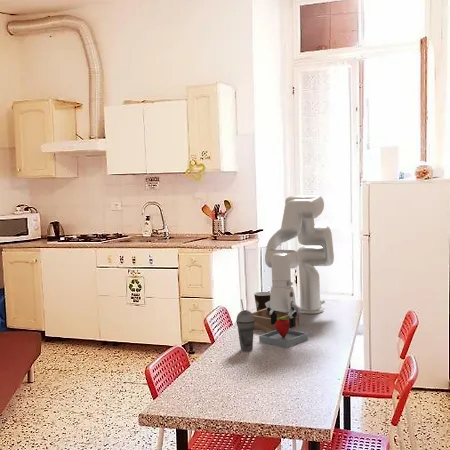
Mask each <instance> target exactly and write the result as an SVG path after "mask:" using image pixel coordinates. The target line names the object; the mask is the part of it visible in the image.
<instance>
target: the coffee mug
mask: <svg viewBox="0 0 450 450" xmlns="http://www.w3.org/2000/svg"><path fill="white" fill-rule="evenodd" d="M270 293H271V291H270V292H269V291H257V292H254V294H253V295H254V296H253V297H254V302H255V308H256V311H259V310H263V309H266V308H267V307H266V305H265V303H266V302H268V301H270Z"/></svg>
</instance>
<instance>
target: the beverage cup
mask: <svg viewBox="0 0 450 450" xmlns="http://www.w3.org/2000/svg"><path fill="white" fill-rule="evenodd" d="M240 302H241V309H242V310H241V311H240V312H238V314H237V315H236V320H235V322H236V326H237V327H236V328H237V331H238V339H239V346H240V351H241V352H246V353H247V352H252V351H253V349H254V348H253V346H254V321H255V320H254V316H253V314H252V313H253V312H252V311H249V310H247V309H246V310H245V309H244V302H243V299H242V298H241V299H240Z"/></svg>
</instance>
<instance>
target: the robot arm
mask: <svg viewBox="0 0 450 450" xmlns="http://www.w3.org/2000/svg"><path fill="white" fill-rule="evenodd" d="M284 201H285V205H284V209H283V215H282V220H281V225H280V229H278V230H277V231H276V232H275V233H274V234H272V236H271V237H270V238H269V239H268V242H267V244H266V249H265V255H264V262H265V265H266V266H267V267H268V268H271V284H272V286H271V289H270V292H271V293H270V301H268V302H266V303H265V305H266V307H267V310H268V311H269V314H270V315H271V324H272V325H273V324H275V323H276V321H277V314H276V311H278V312H284V313H288V315H289V316H290V318H289V327H290V328H291V329H293V327H294V328H295V326H296V320H295V317H297V315H298V314H299V315H300V314H305V315H306V314H307V315H308V314H309V315H311V314H312V315H313V314H319V313H323V312H324V311H325V310H324V307H322V305H325V304H326V301H325V300H324V299H321V291H320V290H321V289H320V288H321V286H320V272H318V270H317V269H316V267H329V266H332V265H333V264H334V261H335V260H334V259H335V255H334V254H335V253H334V245H333V243H334V242H333V234H332V231H331V228H330V226H328V225H325V224H324V225H323V224H321V225H320V224H315V219H316V218H318V217H319V216H320V215H321V214H322V213H323V212H324V209H325V202H324V198H323V197H322V196H321V195H316V194H315V195H314V194H313V195H289V196H287V197H286V198H285V200H284ZM295 238H297V240H298V243H299V244H300V245H302V246H301V247H299V248H298V249H297V250H295V249H277V247H279V246H280V245H281V244H283V243H286V242H287V241H290V240H292V239H295ZM297 267H298V272H299V273H298V275H299V298H300V299H299V303H300V304H299V305H300V306H299V305H297V304H296V296H295V295H296V294H295V291H294V288H293V284H294V283H293V282H292V277H291V275H292V273H291V269H295V268H297ZM294 311H295V312H294ZM296 327H297V326H296Z"/></svg>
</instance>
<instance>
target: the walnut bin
mask: <svg viewBox="0 0 450 450" xmlns="http://www.w3.org/2000/svg"><path fill="white" fill-rule="evenodd" d="M294 312H295V311H294ZM251 313H252V314H253V316H254V320H255V321H254V329H253V331H254V330H256V331H260V332H261V331H262V332H266V333H268V332H271V331H274V330H276V327H275V324H273V325H272V324H271V315H270V314H269V311H268V310H267V308H266V309H263V310H259V311H257V310H256V311H253V312H251ZM276 314H277V318H283V317H285V318H288V319H287V320H288V321H289V318H290V316H289V315H288V313H284V312H278V311H276ZM277 320H278V319H277ZM295 320H296V326H295V327H299V326H301V325H300V323H301V322H300V321H301V319H300V313H299V314H298V315H297V317H295ZM295 327H293V328H295ZM293 328H289V330H292V329H293Z"/></svg>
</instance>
